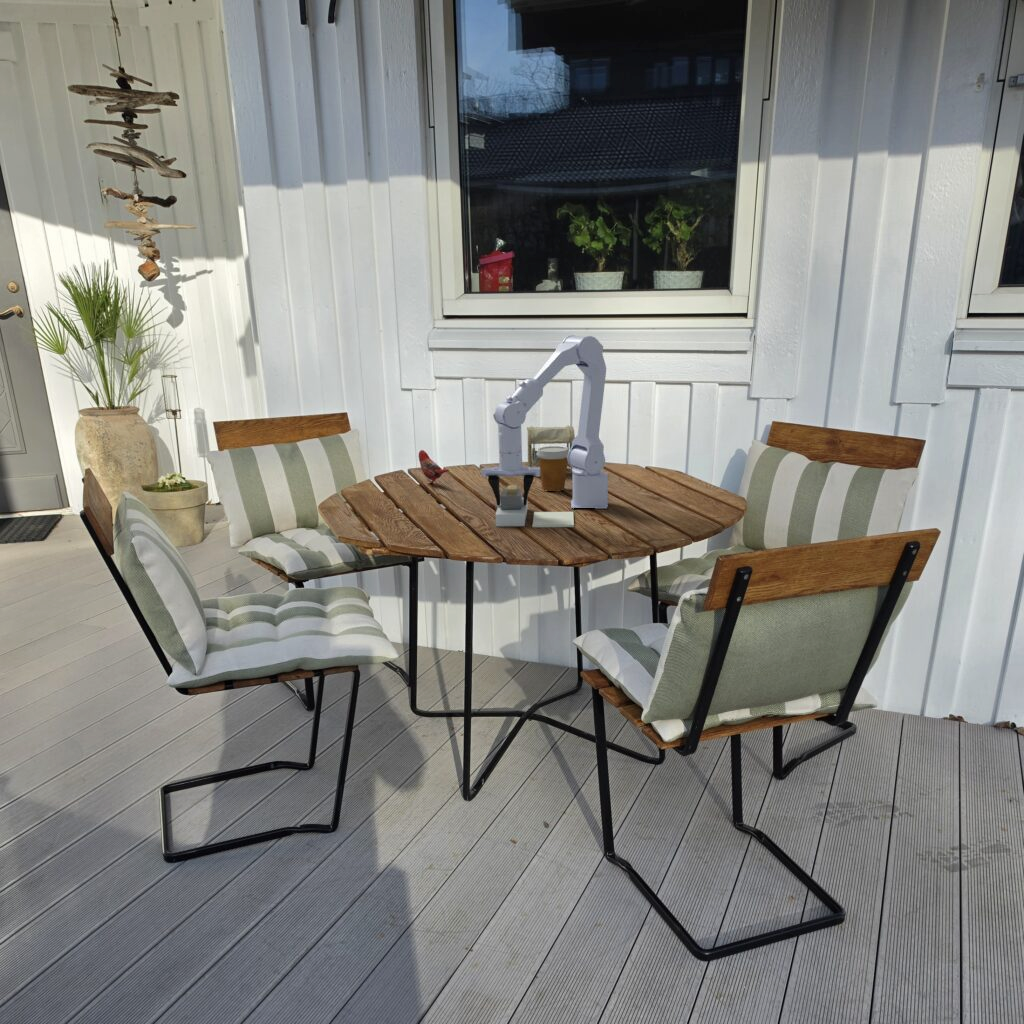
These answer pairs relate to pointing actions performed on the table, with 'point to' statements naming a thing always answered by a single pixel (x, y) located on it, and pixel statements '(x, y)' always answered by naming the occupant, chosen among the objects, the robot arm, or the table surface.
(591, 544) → the table surface
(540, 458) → the disposable coffee cup
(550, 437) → the swing bench
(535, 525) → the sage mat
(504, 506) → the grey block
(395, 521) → the table surface
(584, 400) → the robot arm
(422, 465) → the decorative bird figurine
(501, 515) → the white rectangular block
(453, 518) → the table surface
